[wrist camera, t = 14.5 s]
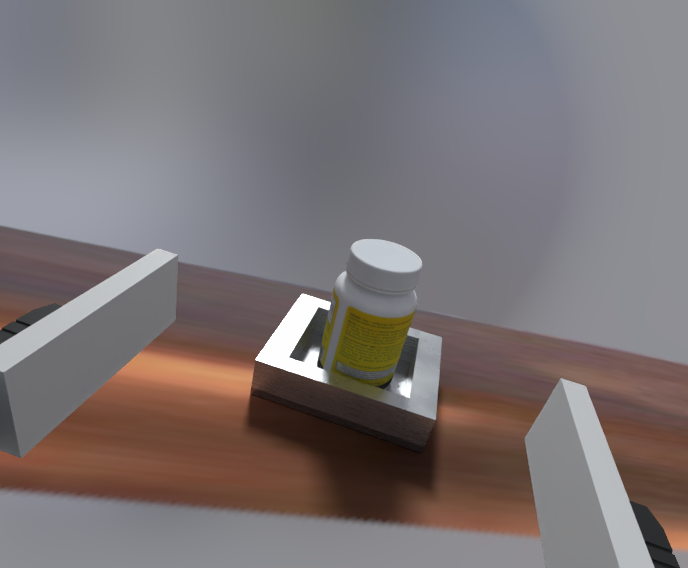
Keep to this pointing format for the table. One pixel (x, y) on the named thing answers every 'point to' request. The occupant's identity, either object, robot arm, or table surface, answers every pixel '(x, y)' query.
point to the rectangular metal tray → (350, 380)
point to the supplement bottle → (371, 312)
